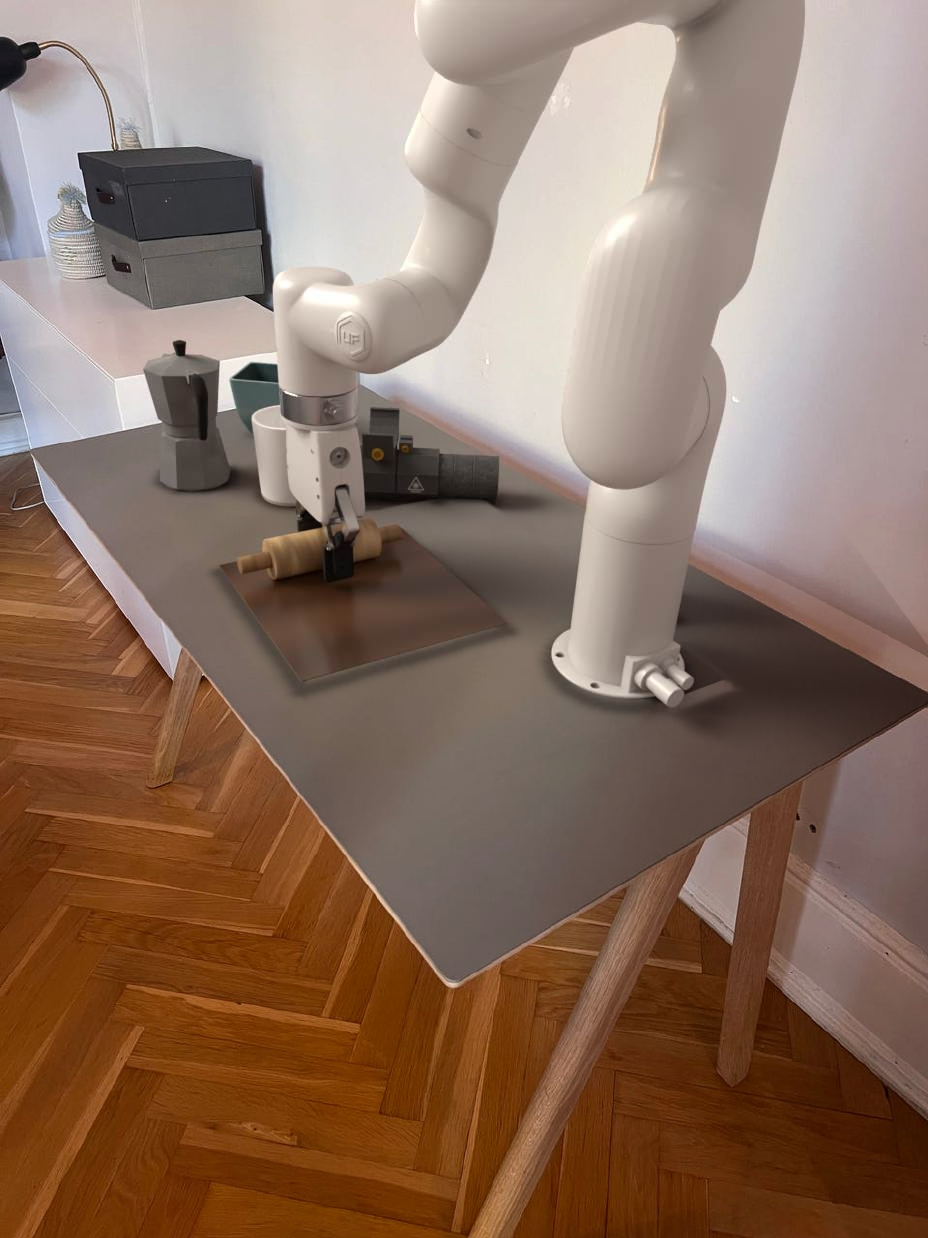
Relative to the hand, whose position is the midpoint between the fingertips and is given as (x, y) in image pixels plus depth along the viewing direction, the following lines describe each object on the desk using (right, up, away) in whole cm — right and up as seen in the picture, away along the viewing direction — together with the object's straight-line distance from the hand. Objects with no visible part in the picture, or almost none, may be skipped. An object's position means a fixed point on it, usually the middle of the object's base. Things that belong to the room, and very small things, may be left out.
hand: (325, 563), depth 98 cm
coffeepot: (-20, +12, +21) cm, 31 cm away
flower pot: (-14, +22, +37) cm, 45 cm away
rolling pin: (-1, 0, +2) cm, 2 cm away
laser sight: (+8, +10, +20) cm, 24 cm away
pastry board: (+4, -4, -3) cm, 6 cm away
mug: (-6, +10, +18) cm, 22 cm away
